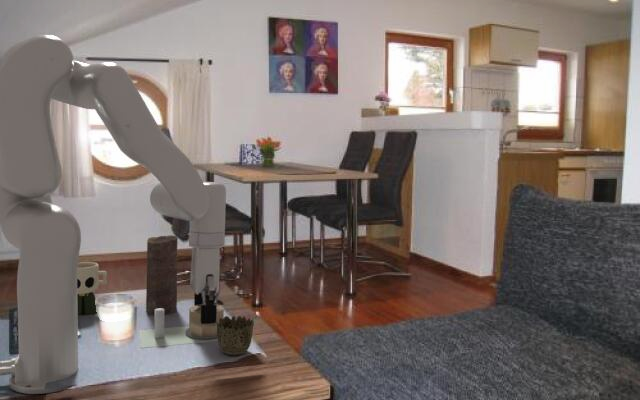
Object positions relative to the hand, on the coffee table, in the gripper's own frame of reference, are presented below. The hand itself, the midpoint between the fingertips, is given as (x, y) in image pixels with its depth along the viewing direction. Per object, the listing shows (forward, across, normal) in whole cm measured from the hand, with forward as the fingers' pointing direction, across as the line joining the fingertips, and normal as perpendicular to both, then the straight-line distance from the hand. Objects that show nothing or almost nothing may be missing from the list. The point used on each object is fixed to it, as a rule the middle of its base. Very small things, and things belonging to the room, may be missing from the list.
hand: (204, 316), depth 121 cm
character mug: (+6, -23, -25) cm, 35 cm away
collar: (+3, 0, 0) cm, 3 cm away
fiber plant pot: (+6, +13, +4) cm, 14 cm away
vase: (+5, -30, +6) cm, 31 cm away
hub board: (+5, 0, -4) cm, 7 cm away
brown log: (+6, -19, -7) cm, 21 cm away
